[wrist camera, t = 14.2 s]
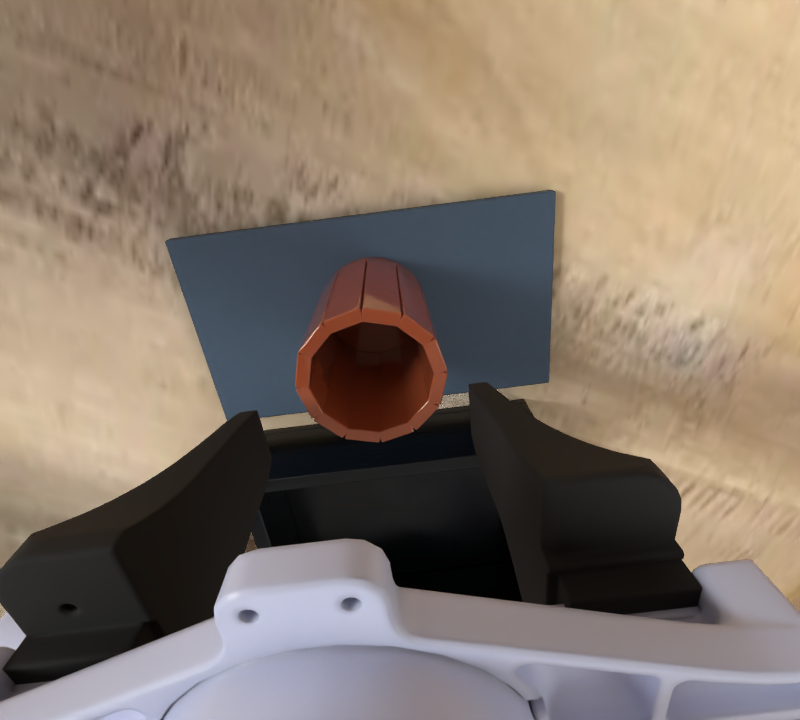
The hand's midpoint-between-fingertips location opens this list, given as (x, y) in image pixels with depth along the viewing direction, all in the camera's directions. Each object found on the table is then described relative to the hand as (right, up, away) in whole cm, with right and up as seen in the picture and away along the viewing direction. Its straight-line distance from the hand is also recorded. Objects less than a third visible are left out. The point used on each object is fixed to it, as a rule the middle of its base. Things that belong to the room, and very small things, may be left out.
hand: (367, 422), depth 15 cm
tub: (+1, -7, +14) cm, 15 cm away
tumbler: (0, +5, +7) cm, 8 cm away
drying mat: (0, +5, +8) cm, 9 cm away
